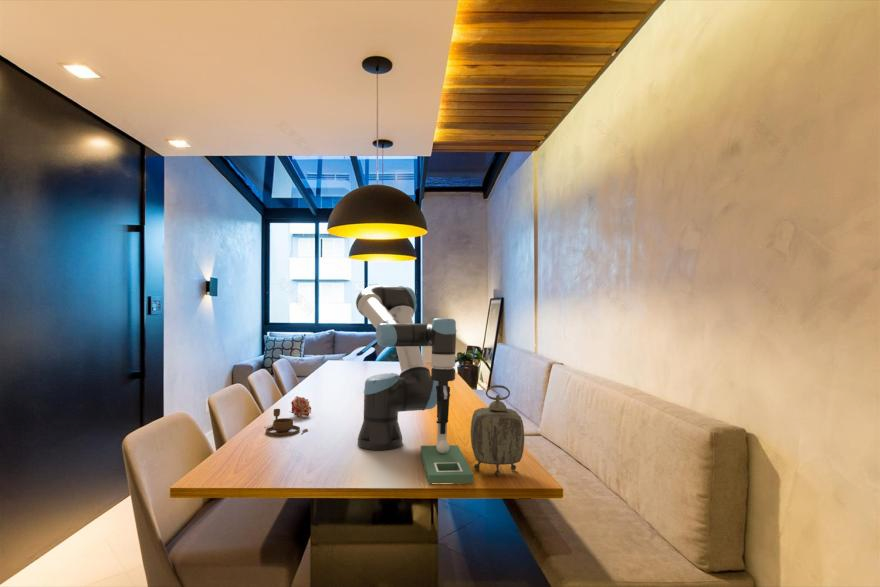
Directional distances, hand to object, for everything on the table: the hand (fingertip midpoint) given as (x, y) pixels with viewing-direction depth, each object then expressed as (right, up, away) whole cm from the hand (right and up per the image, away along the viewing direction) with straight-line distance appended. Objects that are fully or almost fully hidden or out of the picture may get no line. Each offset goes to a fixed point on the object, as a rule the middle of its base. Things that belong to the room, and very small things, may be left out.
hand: (441, 443), depth 143 cm
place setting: (-58, -5, +29) cm, 65 cm away
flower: (-59, -5, +49) cm, 77 cm away
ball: (0, 0, -3) cm, 3 cm away
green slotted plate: (+1, -4, -8) cm, 9 cm away
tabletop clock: (+16, -5, -12) cm, 20 cm away
